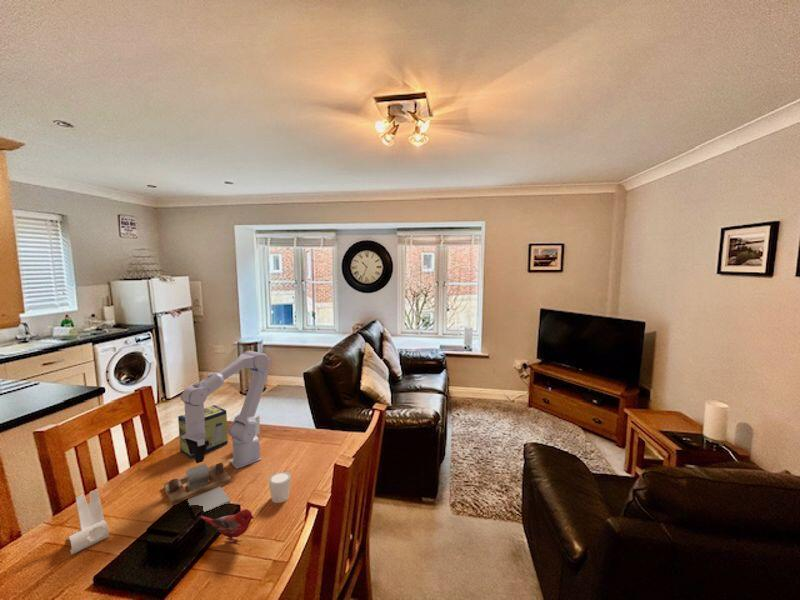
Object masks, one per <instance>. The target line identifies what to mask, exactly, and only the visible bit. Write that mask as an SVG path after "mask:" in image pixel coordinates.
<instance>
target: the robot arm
mask: <svg viewBox="0 0 800 600" xmlns="http://www.w3.org/2000/svg"><path fill="white" fill-rule="evenodd" d="M270 363H271V359H270V358H269V356H268V355H267V354H266V353H264V352H258V351H253V350H250V349H249V350H246V351H244V352H243V353H241V354H239V356H238V358H237V359H235V360H234V361H232V362H231V363H229V364H228V365H227V366H225V368H223V369H222V370H221V371H219V372H212V373H210V372H209V373H208V374H207V376H206V377H205V378H203V379H202V380H200V381H198V382H197V381H196V382H195V383H194V385H190V386H187V387H186V388H185V389H183V391H182V393H181V395H180V400H181V401H182V402H183V403H184V414H185V425H186V434H185V435H182V438H183V439H185V440H186V443H187V445H188V449H189V452H190V454H191V455H192V454H194V458H193V459H194V462H195V464H200V463H203V462H204V459H205V456H206V453H205V451H206V448H207V446H208V445H209V441H208V440H207V441H205V439H204V437H205V433H206V431H205V422H204V408H205V405H204V403H205V402H206V400H207V398H208V397H209V395H210V394H212V393H214V392H215V391H216V390H218V389H220V387H222V386H224V383H225V380H226V379H229V378H230V377H232V376H233V375H235V374H236V373H238V372H240V371H241V370H243V369H249V370H250V372H251V374H252V378H251V381H250V382H249V383H250V384H249V388H248V390H247V393H246V396H245V399H244V401H243V405H242V407H241V409H240V413H239V414H238V415H237V416H236V417H234V419H233V421H232V423H231V424H230V425H229V427H228V429H227V433H228V435H229V436H230V437H231V440H232V441H231V442H232V457H233V458H232V459H229V462H230V463H231V465H232V466H233V467H234V468H235V469H236V470H237V469H240V468H243V467H245V466H248V465H251V464H253V463H256V462H258V461H261V459H262V458H261V450H260V449H261V448H260V447H261V445H260V441H259V439H258V437H257V436H255V434H256V425H257V422H256V420H255V417H254V416H255V415H256V413H257V409H258V408H259V403H260V400H261V398H262V395H263V392H264V389H265V388H264V387H265V385H266V382H267V379H268V376H269V364H270Z"/></svg>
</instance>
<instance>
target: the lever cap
mask: <svg viewBox="0 0 800 600" xmlns="http://www.w3.org/2000/svg"><path fill="white" fill-rule="evenodd" d="M208 467H209V466H208V465H207V464H206V462H205V463H202V464H198V465H196V466H193V467H191V468H188V469H186V470H185V476H186V478H187V481H186V487H187V489H188V492H191V491H193V490H196V489H198V488H201V487H203V486H206V485H208V484H210V479H209V478H210V476H209V472H208Z"/></svg>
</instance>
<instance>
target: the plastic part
mask: <svg viewBox="0 0 800 600" xmlns="http://www.w3.org/2000/svg"><path fill="white" fill-rule="evenodd" d="M100 498H101V497H100V492H99V488H96V489H94V490H90V491H89V503H88V502H87V499H86V496H85V494H81V495H78V496H75V503H76V507H77V513H78V520H79V524H80V530H79V531H78V530H73V531H72V532H73V534H71V535H68V536H67V538H66V540H68V541H69V542H70V545H71V549H70V550H69V551H70V554H71V555H75V554H77V553H78V552H81V551H83V550H85V549H86V548H89V547H91V546H93V545H95V544H97V543H99V542H101V541H104V540H106V539H107V538H109V535H110V534H109V527H108V524H107V521H106V520H105V518H104V512H103V508H102V503H101V499H100Z"/></svg>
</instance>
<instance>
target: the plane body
mask: <svg viewBox="0 0 800 600" xmlns="http://www.w3.org/2000/svg"><path fill="white" fill-rule="evenodd" d="M207 467H208V472H209V478H210V479H211V480H212V482H211V483H209V484H207V485H204V486H202V487H199V488H197V489H194V490H192V491H186V489H185V487H184V485H183V484H184V483H185V482H186V483H187V478H186V475H184V476H180V477H178V478H173V479H171V480H169V481H167V482H164V483H163V489H164V492H165V493H166V495H167V498H168V500H169V502H170V504H171V507H172V506H176V505H178V504H180V503H182V502H181V501H183V500H185V499H188V500H189V499H191V498H193V497H196V496H198V495H201V494H203V493H206V492H208V491H211V490H213V489H215V488H218V487H222V486H225V485H227V484H229V483H231V482H232V477H231V476H230V475H229V473H228V472H227V471H226V469H225V468H224V464H223V462H219V463H217V464H214V465H211V466H207ZM185 501H186V500H185ZM183 502H184V501H183Z"/></svg>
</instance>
